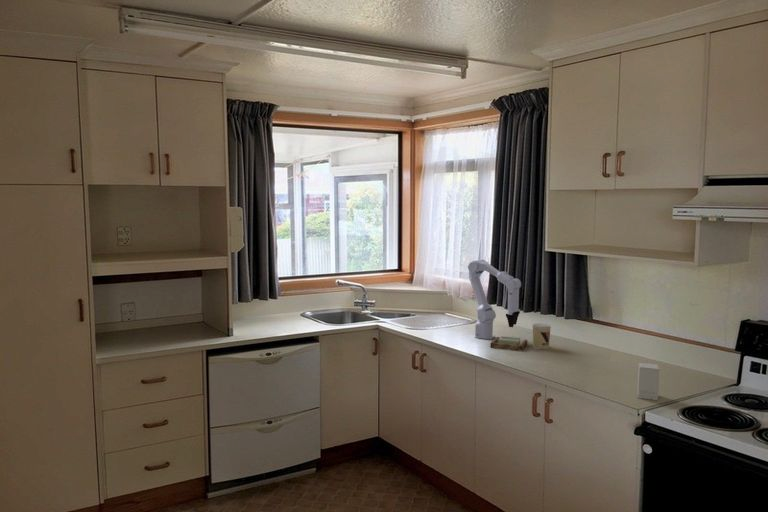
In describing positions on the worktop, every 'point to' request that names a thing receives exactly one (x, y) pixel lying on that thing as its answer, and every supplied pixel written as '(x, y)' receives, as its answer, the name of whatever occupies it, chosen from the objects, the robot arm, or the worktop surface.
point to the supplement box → (648, 381)
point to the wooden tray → (507, 345)
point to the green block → (509, 340)
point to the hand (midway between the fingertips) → (512, 325)
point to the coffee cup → (541, 335)
